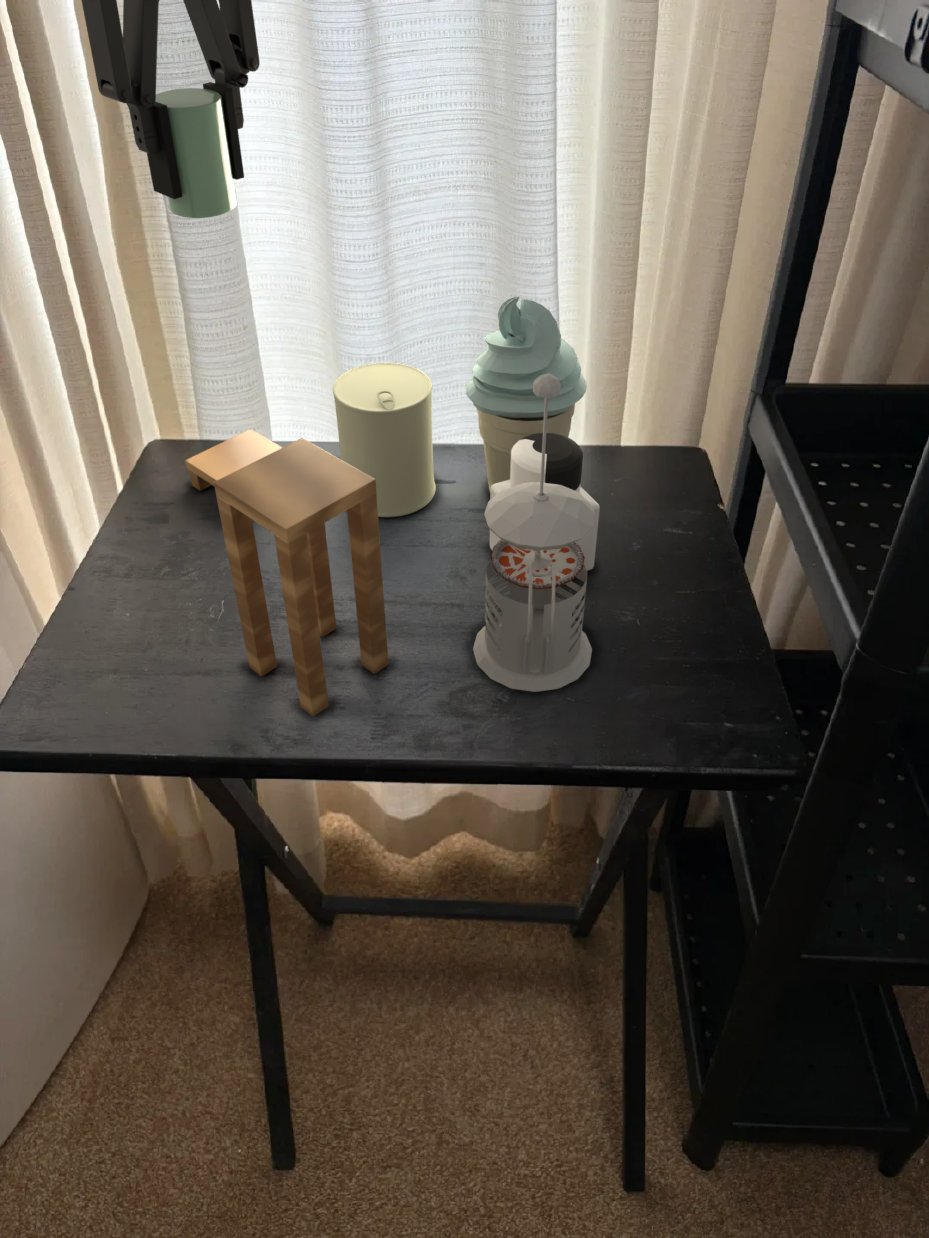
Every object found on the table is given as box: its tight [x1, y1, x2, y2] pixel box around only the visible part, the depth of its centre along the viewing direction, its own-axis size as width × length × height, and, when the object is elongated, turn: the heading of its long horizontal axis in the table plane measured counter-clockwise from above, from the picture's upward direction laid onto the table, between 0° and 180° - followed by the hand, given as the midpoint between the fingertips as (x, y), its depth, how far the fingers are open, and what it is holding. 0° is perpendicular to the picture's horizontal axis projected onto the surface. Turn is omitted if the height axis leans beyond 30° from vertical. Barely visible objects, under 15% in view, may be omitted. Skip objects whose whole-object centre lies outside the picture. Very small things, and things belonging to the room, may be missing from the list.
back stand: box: [184, 428, 283, 492], centre depth 103 cm, size 8×8×3 cm
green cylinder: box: [155, 87, 237, 219], centre depth 81 cm, size 5×5×8 cm
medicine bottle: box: [489, 433, 601, 572], centre depth 91 cm, size 7×7×12 cm
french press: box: [472, 373, 595, 693], centre depth 77 cm, size 10×12×25 cm
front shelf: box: [213, 437, 389, 717], centre depth 79 cm, size 8×8×18 cm
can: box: [332, 362, 437, 518], centre depth 99 cm, size 9×9×12 cm
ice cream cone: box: [465, 296, 588, 492], centre depth 97 cm, size 10×11×20 cm
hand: (199, 183), depth 82 cm, fingers closed on green cylinder, 5 cm apart
